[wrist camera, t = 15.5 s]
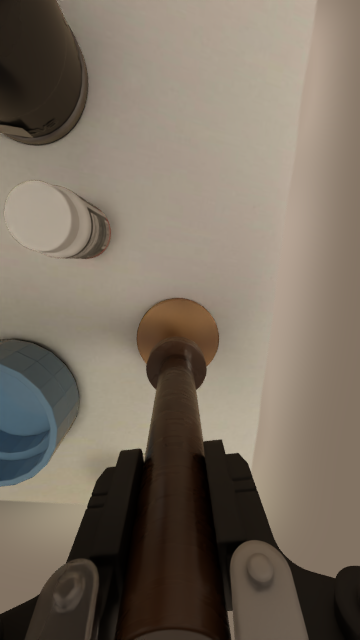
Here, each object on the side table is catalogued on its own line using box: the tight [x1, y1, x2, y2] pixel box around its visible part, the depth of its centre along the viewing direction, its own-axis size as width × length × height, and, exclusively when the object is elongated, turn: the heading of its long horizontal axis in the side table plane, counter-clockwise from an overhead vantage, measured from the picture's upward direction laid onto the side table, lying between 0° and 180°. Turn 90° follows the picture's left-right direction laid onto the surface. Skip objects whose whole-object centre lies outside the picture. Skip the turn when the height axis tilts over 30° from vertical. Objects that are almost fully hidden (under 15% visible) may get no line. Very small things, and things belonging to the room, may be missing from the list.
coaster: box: [137, 298, 219, 367], centre depth 25 cm, size 8×8×1 cm
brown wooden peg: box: [114, 336, 231, 640], centre depth 12 cm, size 4×4×15 cm
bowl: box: [0, 339, 79, 487], centre depth 24 cm, size 12×12×6 cm
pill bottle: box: [4, 180, 111, 259], centre depth 19 cm, size 5×5×8 cm
